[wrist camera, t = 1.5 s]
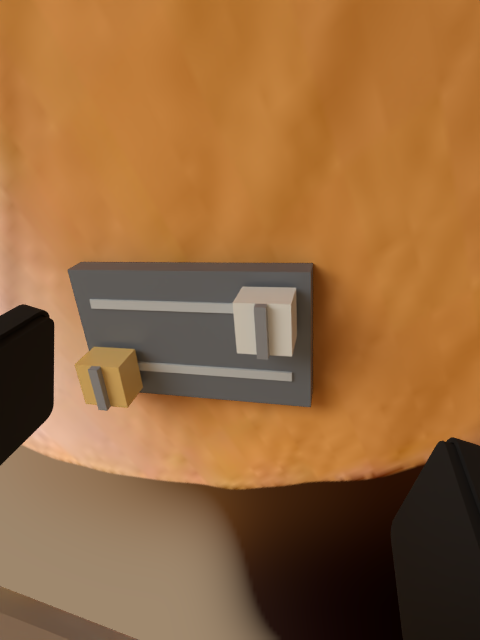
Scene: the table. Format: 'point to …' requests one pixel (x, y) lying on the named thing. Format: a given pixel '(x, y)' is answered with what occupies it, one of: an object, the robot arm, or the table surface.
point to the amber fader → (109, 377)
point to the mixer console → (195, 326)
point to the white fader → (265, 321)
